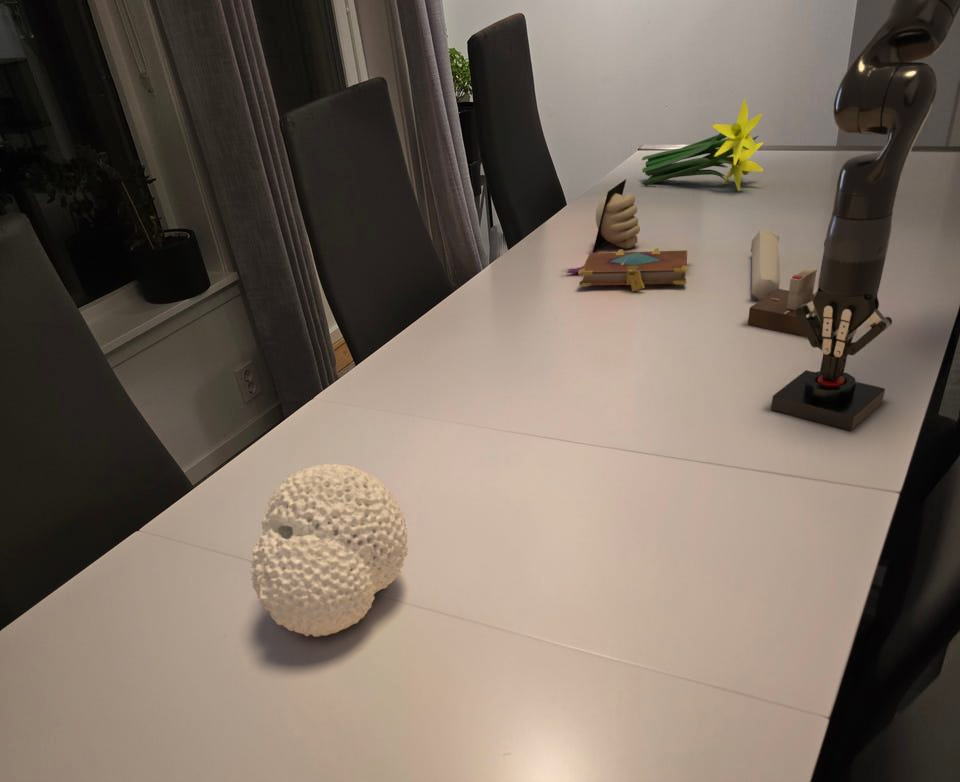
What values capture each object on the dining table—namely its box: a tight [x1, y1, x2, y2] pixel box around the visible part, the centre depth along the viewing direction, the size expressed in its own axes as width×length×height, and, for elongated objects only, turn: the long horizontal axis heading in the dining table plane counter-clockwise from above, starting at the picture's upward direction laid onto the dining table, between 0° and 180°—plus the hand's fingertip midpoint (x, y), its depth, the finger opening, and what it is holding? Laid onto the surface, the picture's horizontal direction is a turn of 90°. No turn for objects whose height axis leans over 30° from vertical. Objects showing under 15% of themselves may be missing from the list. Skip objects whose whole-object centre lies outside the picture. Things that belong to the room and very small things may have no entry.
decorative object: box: [592, 178, 641, 253], centre depth 179 cm, size 13×10×10 cm
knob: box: [786, 267, 818, 310], centre depth 140 cm, size 6×2×5 cm, turn 137°
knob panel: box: [747, 288, 823, 338], centre depth 143 cm, size 13×10×3 cm
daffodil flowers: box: [641, 98, 764, 192], centre depth 206 cm, size 17×15×35 cm
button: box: [817, 375, 845, 387], centre depth 118 cm, size 4×4×2 cm
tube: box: [750, 230, 781, 301], centre depth 159 cm, size 5×5×25 cm
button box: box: [770, 369, 886, 432], centre depth 119 cm, size 12×10×4 cm
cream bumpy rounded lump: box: [250, 463, 409, 638], centre depth 93 cm, size 20×18×16 cm
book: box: [567, 248, 688, 292], centre depth 166 cm, size 16×25×5 cm, turn 77°
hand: (830, 378), depth 118 cm, fingers closed
